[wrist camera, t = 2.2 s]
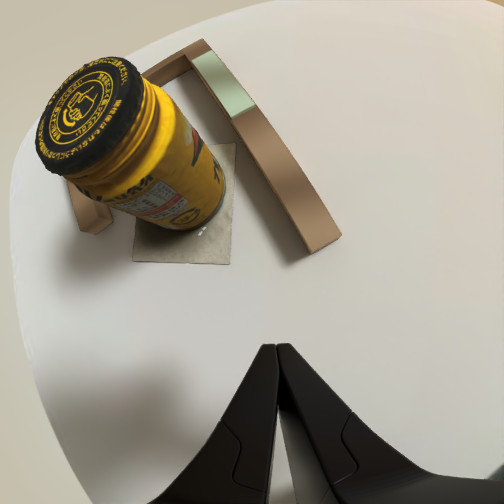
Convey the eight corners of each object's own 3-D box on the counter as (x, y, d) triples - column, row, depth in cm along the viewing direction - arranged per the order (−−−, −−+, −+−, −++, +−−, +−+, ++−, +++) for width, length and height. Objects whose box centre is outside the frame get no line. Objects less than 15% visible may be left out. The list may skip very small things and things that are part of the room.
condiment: (236, 144, 20) (171, 20, 8) (230, 264, 19) (126, 241, 7) (146, 153, 21) (43, 71, 9) (134, 261, 20) (-3, 241, 8)
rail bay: (337, 239, 18) (342, 233, 16) (142, 345, 20) (125, 351, 17) (209, 52, 21) (201, 36, 19) (72, 147, 23) (57, 139, 20)
